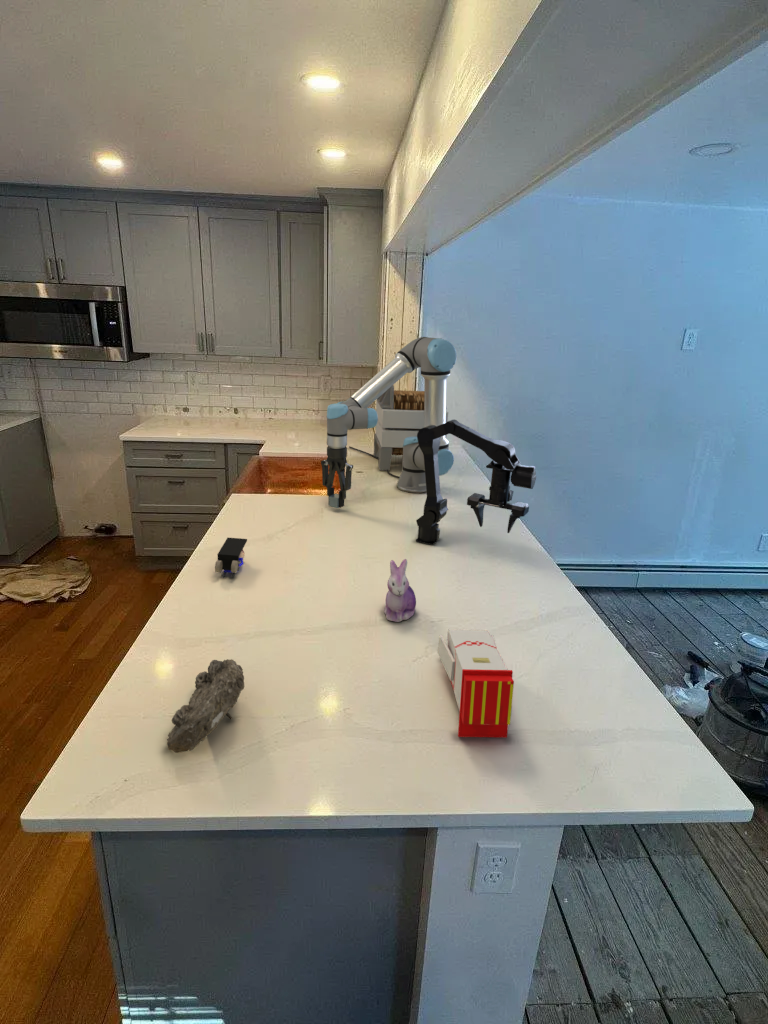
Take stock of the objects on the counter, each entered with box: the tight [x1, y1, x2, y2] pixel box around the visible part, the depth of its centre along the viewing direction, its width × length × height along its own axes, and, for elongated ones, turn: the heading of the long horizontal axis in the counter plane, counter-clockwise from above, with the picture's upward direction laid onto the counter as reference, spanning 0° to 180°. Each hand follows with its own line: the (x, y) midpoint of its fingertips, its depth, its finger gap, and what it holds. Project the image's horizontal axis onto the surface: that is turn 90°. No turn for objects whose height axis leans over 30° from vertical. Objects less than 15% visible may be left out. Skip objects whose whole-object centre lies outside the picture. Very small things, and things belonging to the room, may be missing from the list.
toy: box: [437, 628, 515, 738], centre depth 117 cm, size 12×13×30 cm
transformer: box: [372, 385, 449, 472], centre depth 285 cm, size 34×33×41 cm
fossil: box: [166, 658, 245, 754], centre depth 106 cm, size 22×10×15 cm
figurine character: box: [214, 537, 248, 578], centre depth 166 cm, size 7×8×15 cm
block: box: [328, 492, 339, 509], centre depth 219 cm, size 4×4×4 cm
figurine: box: [384, 558, 417, 623], centre depth 145 cm, size 9×10×15 cm
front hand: (494, 529), depth 182 cm, fingers open, 9 cm apart
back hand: (336, 505), depth 219 cm, fingers closed on block, 4 cm apart
